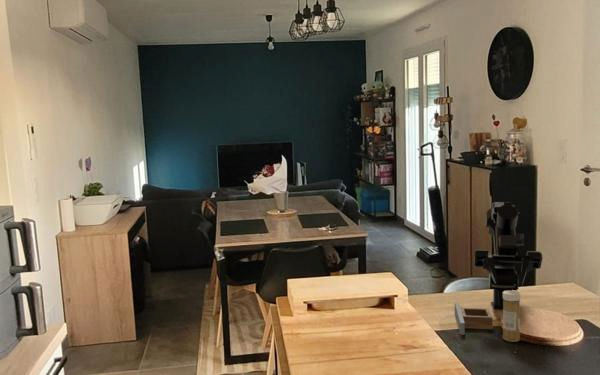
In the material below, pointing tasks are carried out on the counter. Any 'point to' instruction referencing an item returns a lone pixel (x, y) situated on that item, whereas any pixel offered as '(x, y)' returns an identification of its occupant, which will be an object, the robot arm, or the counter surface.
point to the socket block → (477, 318)
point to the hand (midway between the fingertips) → (508, 283)
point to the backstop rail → (459, 319)
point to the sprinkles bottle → (511, 316)
